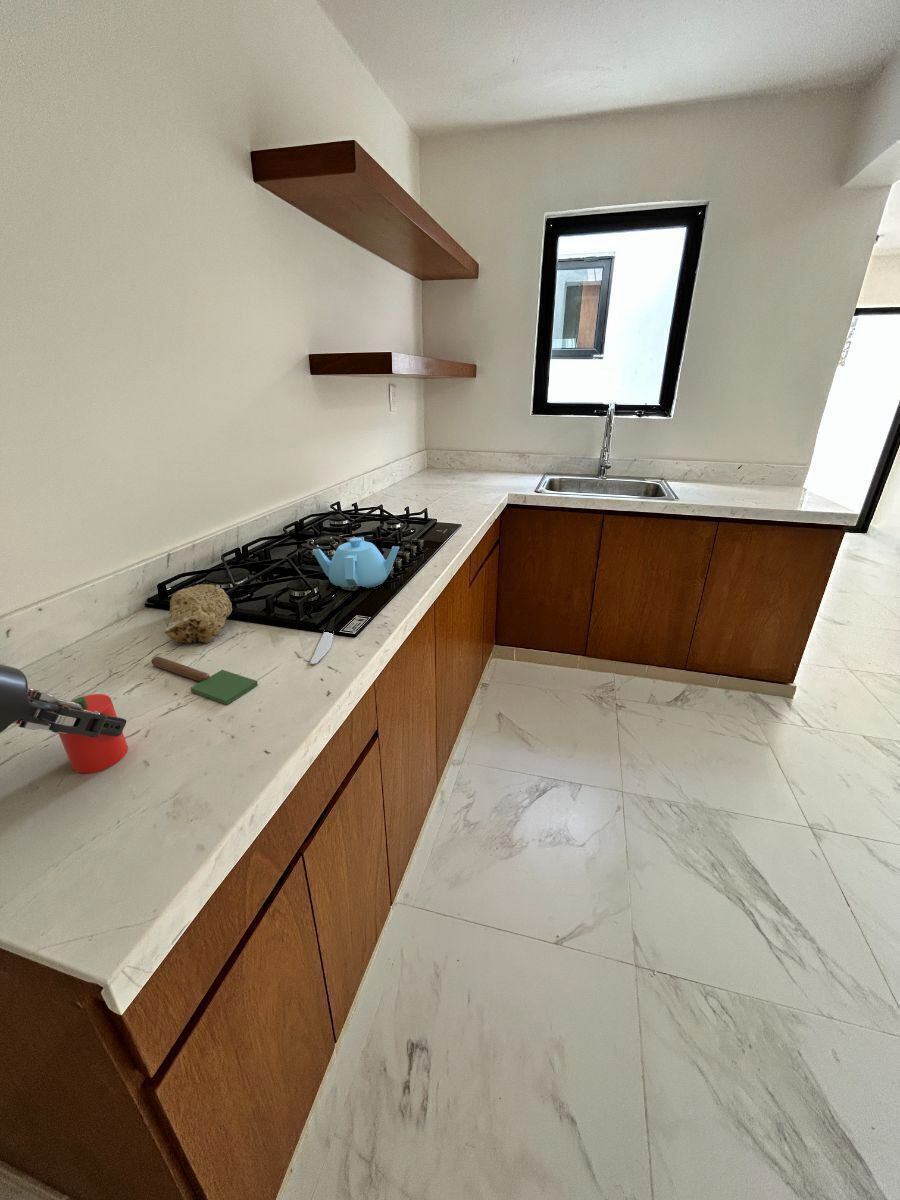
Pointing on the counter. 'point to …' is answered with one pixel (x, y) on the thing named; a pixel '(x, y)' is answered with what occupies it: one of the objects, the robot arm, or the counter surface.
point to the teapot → (357, 564)
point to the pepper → (94, 740)
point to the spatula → (211, 681)
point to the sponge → (198, 613)
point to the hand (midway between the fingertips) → (103, 721)
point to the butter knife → (322, 647)
